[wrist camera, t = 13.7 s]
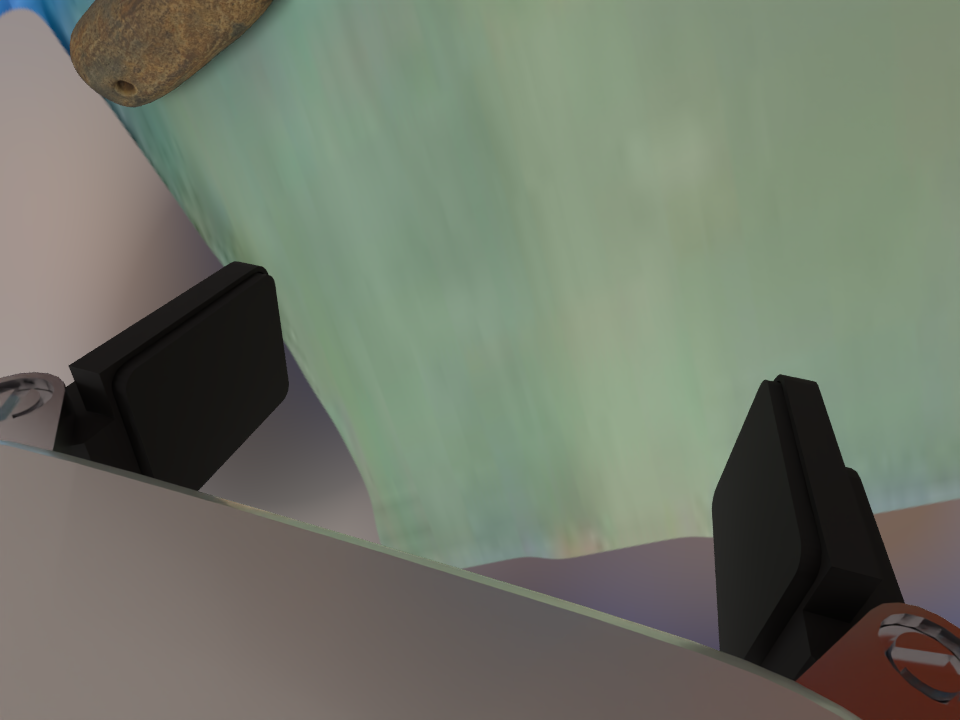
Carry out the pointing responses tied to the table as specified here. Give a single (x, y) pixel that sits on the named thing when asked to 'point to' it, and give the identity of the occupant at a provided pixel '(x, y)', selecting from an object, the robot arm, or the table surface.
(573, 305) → the table surface
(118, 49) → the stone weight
